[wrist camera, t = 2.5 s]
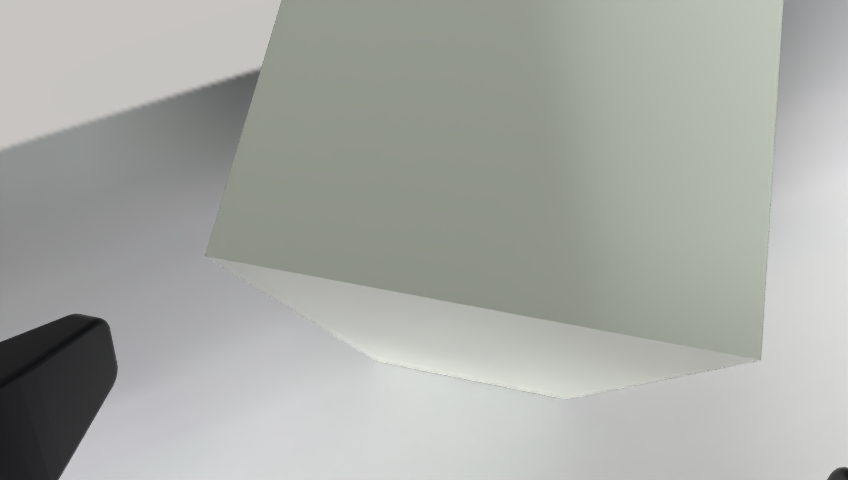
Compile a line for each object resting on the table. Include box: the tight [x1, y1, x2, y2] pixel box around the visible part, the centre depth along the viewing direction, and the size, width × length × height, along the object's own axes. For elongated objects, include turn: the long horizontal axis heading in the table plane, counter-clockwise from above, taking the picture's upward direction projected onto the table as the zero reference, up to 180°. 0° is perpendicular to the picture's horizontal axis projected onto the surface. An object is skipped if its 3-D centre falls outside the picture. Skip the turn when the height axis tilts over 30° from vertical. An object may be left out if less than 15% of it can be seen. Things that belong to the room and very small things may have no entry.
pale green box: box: [205, 0, 783, 400], centre depth 13 cm, size 6×6×12 cm
